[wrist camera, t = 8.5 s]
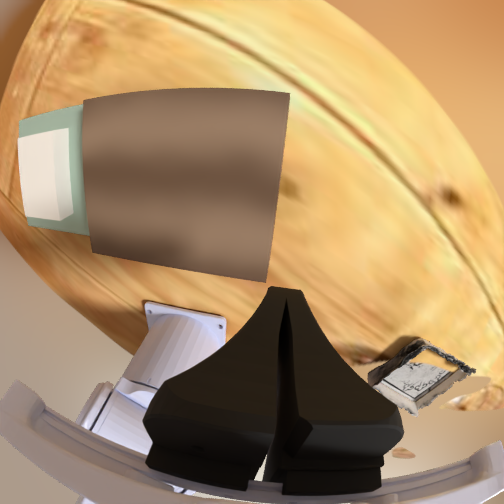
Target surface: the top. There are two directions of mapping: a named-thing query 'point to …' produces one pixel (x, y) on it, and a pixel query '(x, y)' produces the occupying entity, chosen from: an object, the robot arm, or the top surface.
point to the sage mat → (73, 121)
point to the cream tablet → (46, 175)
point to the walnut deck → (185, 177)
